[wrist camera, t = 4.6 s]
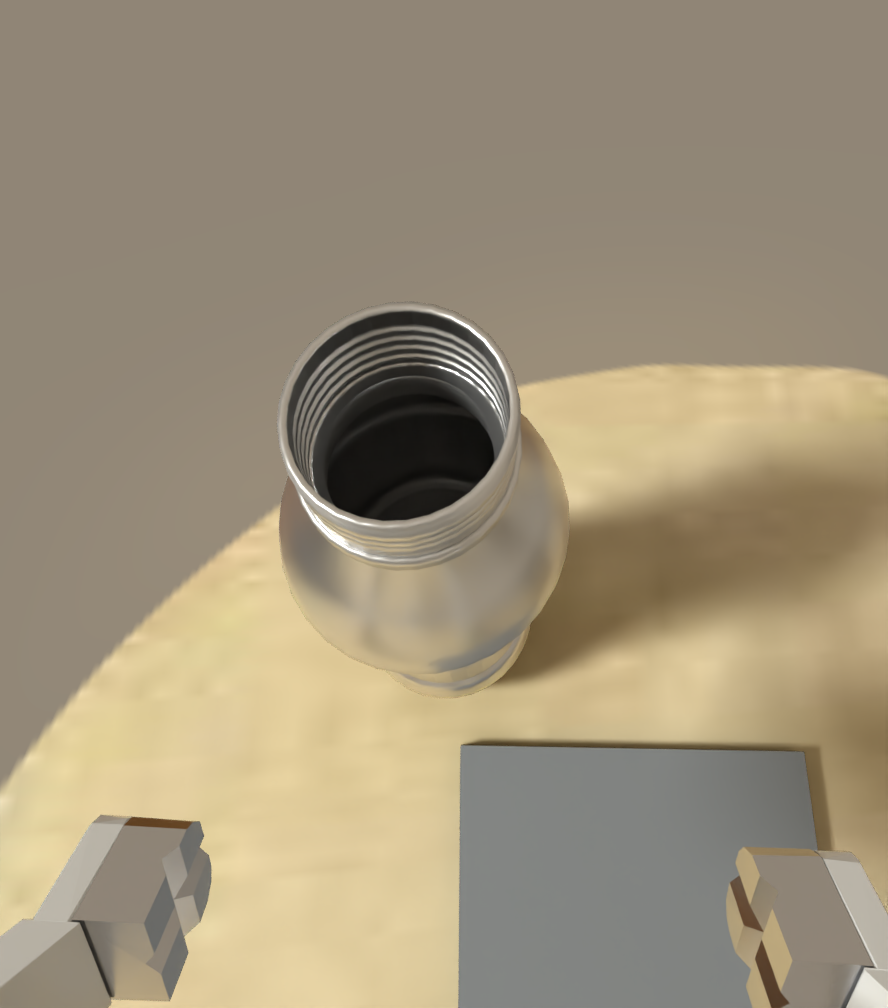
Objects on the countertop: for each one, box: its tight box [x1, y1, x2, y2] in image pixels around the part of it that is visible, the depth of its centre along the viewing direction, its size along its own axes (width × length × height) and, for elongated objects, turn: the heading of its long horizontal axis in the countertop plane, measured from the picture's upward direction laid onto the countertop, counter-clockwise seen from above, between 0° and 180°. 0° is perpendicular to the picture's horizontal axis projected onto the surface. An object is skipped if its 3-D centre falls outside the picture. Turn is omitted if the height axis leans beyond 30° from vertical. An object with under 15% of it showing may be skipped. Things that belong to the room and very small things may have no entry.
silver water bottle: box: [277, 302, 570, 698], centre depth 19 cm, size 6×7×20 cm
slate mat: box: [458, 745, 818, 1008], centre depth 24 cm, size 14×13×1 cm
